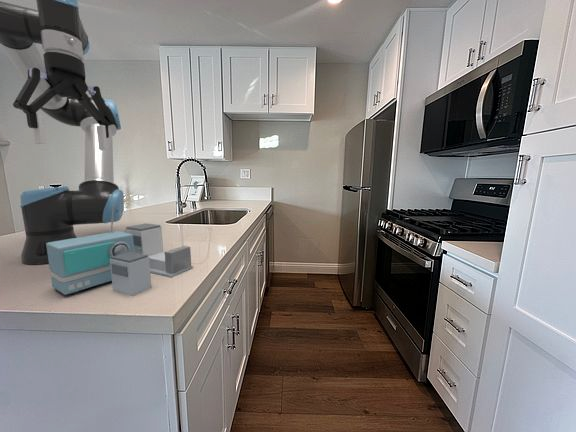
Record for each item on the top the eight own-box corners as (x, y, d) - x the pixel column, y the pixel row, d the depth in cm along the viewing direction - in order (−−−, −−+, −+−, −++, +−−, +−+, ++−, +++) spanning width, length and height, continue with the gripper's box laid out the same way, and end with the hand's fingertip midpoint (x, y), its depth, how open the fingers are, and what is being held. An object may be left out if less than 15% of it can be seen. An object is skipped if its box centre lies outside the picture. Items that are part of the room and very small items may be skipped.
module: (111, 290, 61) (108, 257, 60) (132, 282, 66) (129, 251, 65) (131, 296, 58) (128, 261, 57) (151, 287, 63) (148, 255, 62)
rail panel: (124, 266, 77) (123, 255, 76) (147, 258, 84) (146, 248, 84) (171, 277, 69) (170, 265, 69) (192, 268, 77) (192, 256, 76)
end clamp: (166, 272, 71) (164, 252, 70) (185, 264, 78) (184, 245, 77) (172, 273, 70) (171, 253, 69) (191, 265, 77) (190, 246, 76)
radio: (66, 300, 57) (54, 212, 53) (52, 290, 61) (40, 208, 58) (139, 276, 70) (132, 205, 67) (122, 270, 75) (116, 202, 71)
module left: (126, 264, 77) (122, 227, 75) (148, 257, 84) (145, 223, 82) (142, 268, 74) (138, 229, 72) (163, 260, 81) (161, 225, 79)
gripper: (-3, 25, 49) (14, 139, 52) (125, 74, 71) (131, 151, 74) (-20, 34, 52) (-2, 141, 55) (108, 78, 74) (115, 152, 78)
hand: (74, 147), depth 65 cm, fingers open, 13 cm apart
